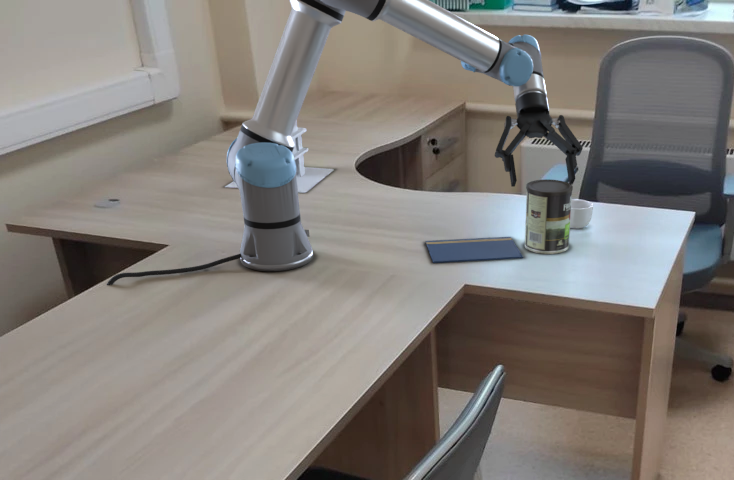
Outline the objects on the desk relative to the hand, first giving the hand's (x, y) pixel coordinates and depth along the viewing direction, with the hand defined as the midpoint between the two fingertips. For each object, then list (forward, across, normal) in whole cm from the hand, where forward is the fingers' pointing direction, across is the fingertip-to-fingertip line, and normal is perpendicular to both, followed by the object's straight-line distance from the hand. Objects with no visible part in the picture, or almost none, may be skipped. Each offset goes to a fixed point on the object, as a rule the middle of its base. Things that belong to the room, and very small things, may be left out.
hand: (543, 182), depth 190 cm
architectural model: (-32, +60, -51) cm, 85 cm away
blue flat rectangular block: (+13, +17, -6) cm, 22 cm away
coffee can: (+13, 0, -6) cm, 14 cm away
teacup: (+3, -11, -16) cm, 20 cm away
